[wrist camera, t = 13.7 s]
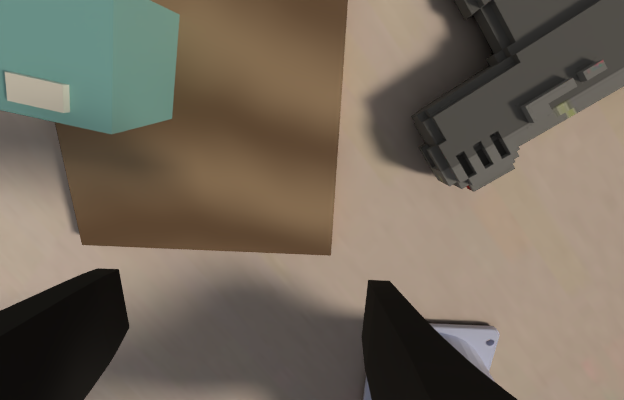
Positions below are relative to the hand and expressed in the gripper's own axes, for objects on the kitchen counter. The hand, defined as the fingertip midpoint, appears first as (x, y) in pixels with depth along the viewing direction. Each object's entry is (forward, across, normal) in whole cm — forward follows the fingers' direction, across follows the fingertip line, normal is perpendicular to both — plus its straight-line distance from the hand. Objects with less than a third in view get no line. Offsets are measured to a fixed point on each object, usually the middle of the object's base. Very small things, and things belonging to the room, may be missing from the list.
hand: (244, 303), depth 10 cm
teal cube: (+8, +7, -7) cm, 13 cm away
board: (+9, +4, -4) cm, 11 cm away
